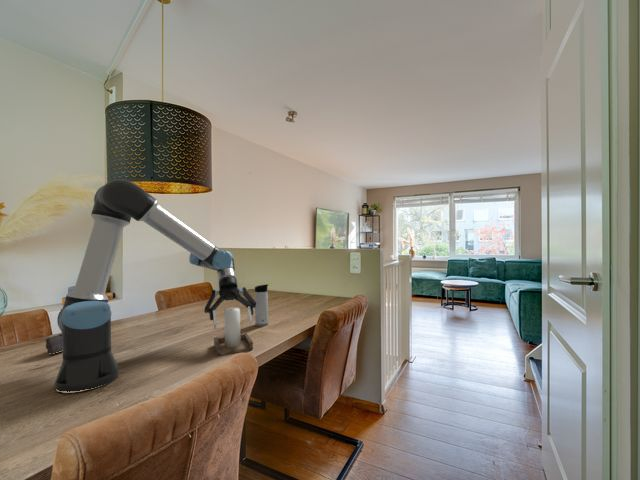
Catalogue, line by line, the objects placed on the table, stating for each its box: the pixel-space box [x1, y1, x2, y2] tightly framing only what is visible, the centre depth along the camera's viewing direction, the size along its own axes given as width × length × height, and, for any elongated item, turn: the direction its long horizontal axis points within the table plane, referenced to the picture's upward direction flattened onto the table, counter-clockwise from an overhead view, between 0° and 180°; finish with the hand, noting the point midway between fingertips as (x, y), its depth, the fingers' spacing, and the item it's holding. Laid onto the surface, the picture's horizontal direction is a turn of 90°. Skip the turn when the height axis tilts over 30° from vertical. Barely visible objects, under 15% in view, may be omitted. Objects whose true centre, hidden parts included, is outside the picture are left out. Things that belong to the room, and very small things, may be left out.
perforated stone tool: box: [45, 333, 63, 354], centre depth 118 cm, size 15×5×7 cm, turn 173°
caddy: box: [213, 333, 254, 357], centre depth 117 cm, size 13×12×3 cm
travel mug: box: [254, 284, 269, 327], centre depth 148 cm, size 6×7×20 cm
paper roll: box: [223, 307, 242, 348], centre depth 117 cm, size 6×6×14 cm
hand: (233, 324), depth 116 cm, fingers open, 13 cm apart
